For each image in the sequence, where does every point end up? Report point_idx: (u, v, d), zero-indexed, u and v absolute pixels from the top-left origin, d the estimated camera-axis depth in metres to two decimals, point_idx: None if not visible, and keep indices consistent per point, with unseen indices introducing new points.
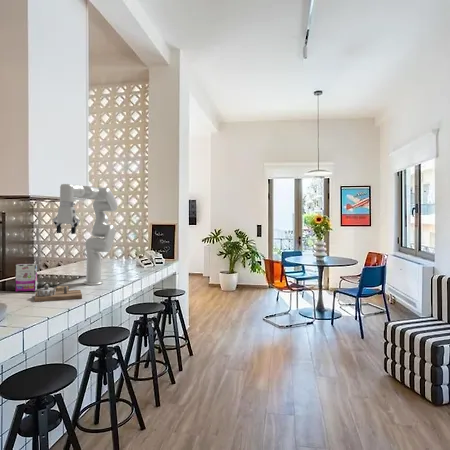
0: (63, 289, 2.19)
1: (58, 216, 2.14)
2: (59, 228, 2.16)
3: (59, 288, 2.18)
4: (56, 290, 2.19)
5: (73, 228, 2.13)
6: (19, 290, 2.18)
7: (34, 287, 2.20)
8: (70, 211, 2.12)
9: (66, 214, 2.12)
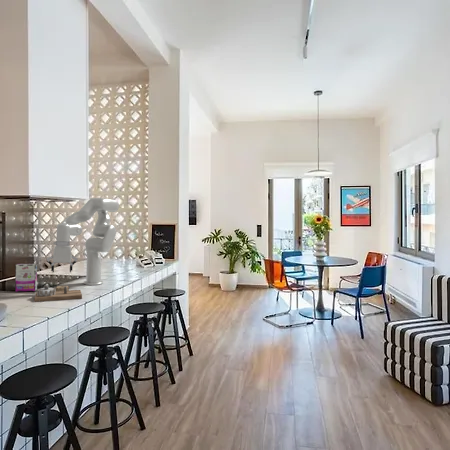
0: (63, 289, 2.19)
1: None
2: None
3: (59, 288, 2.18)
4: (56, 290, 2.19)
5: None
6: (19, 290, 2.18)
7: (34, 287, 2.20)
8: None
9: None
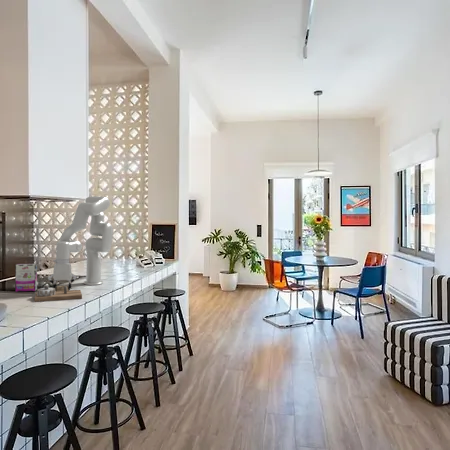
0: (63, 289, 2.19)
1: None
2: None
3: (59, 288, 2.18)
4: (56, 290, 2.19)
5: None
6: (19, 290, 2.18)
7: (34, 287, 2.20)
8: None
9: None
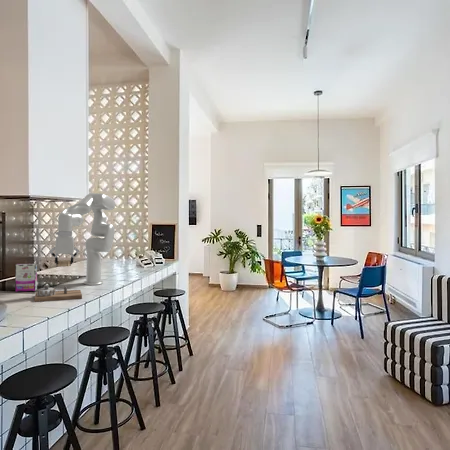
0: (65, 263, 2.11)
1: None
2: None
3: (61, 261, 2.10)
4: (58, 264, 2.11)
5: None
6: (19, 290, 2.18)
7: (34, 287, 2.20)
8: None
9: None
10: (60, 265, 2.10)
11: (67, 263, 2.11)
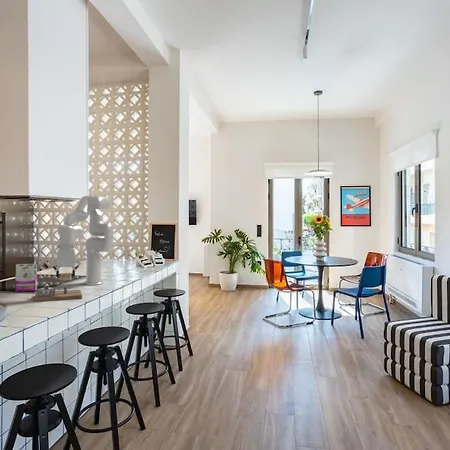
0: (66, 276, 2.06)
1: None
2: (72, 272, 2.10)
3: (62, 275, 2.06)
4: (59, 277, 2.07)
5: None
6: (19, 290, 2.18)
7: (34, 287, 2.20)
8: None
9: None
10: (62, 278, 2.05)
11: (69, 276, 2.07)
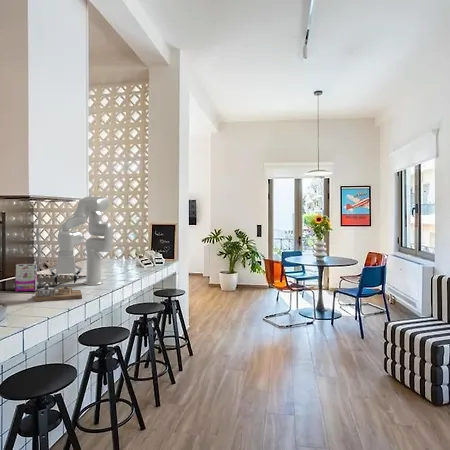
0: None
1: None
2: (74, 277, 2.11)
3: (62, 289, 2.06)
4: (59, 292, 2.07)
5: None
6: (19, 290, 2.18)
7: (34, 287, 2.20)
8: None
9: None
10: (61, 293, 2.06)
11: (68, 291, 2.07)
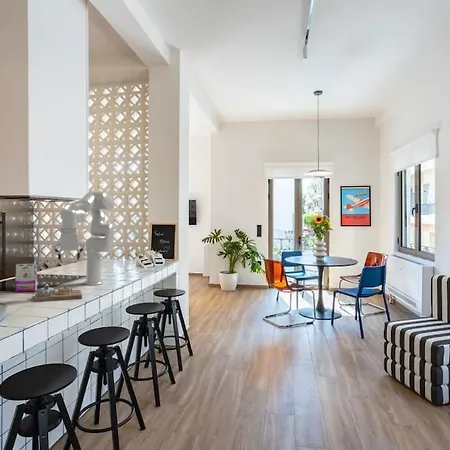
0: None
1: None
2: (77, 255, 2.14)
3: (62, 289, 2.06)
4: (59, 292, 2.07)
5: None
6: (19, 290, 2.18)
7: (34, 287, 2.20)
8: None
9: None
10: (61, 293, 2.06)
11: (68, 291, 2.07)
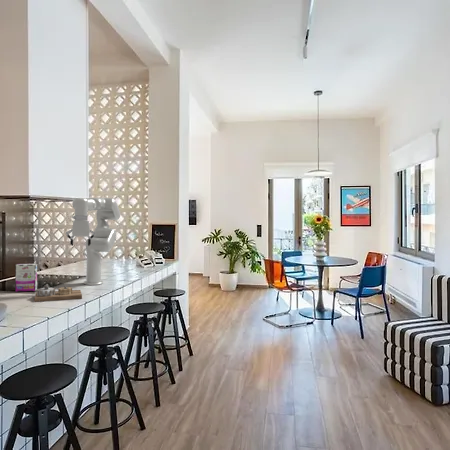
0: None
1: None
2: (88, 241, 2.27)
3: (62, 289, 2.06)
4: (59, 292, 2.07)
5: None
6: (19, 290, 2.18)
7: (34, 287, 2.20)
8: None
9: None
10: (61, 293, 2.06)
11: (68, 291, 2.07)
